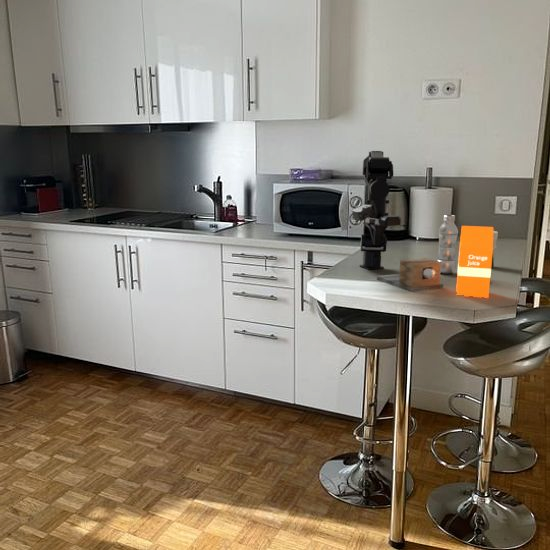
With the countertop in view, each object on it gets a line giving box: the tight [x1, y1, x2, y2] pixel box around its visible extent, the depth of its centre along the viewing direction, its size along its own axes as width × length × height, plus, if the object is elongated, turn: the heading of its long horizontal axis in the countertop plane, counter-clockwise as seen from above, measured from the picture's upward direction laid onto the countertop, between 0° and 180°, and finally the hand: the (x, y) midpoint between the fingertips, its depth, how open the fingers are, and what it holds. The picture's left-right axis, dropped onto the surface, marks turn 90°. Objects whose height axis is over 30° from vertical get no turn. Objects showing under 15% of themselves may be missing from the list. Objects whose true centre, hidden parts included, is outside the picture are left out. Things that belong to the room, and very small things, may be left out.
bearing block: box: [376, 257, 444, 292], centre depth 174 cm, size 18×12×8 cm, turn 25°
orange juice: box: [455, 225, 494, 299], centre depth 160 cm, size 8×9×20 cm
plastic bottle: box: [436, 214, 459, 275], centre depth 187 cm, size 6×7×20 cm
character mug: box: [491, 230, 499, 268], centre depth 199 cm, size 11×7×13 cm, turn 3°
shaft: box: [423, 268, 437, 280], centre depth 169 cm, size 12×5×5 cm, turn 25°
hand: (375, 244), depth 181 cm, fingers closed
